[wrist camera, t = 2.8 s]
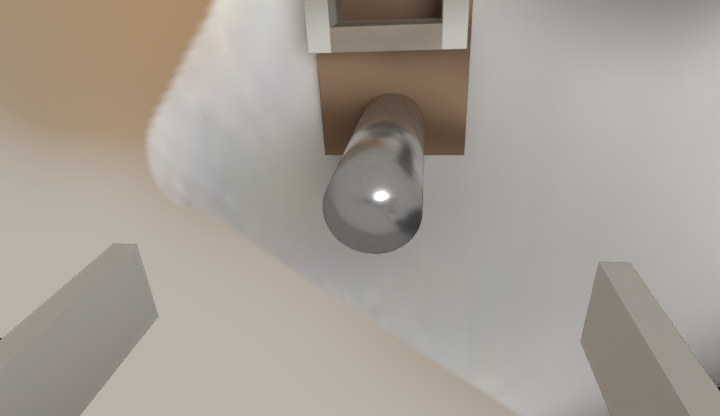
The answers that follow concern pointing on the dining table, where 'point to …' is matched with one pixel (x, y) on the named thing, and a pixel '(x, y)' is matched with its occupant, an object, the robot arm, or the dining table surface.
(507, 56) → the dining table surface
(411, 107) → the pin
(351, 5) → the socket board
